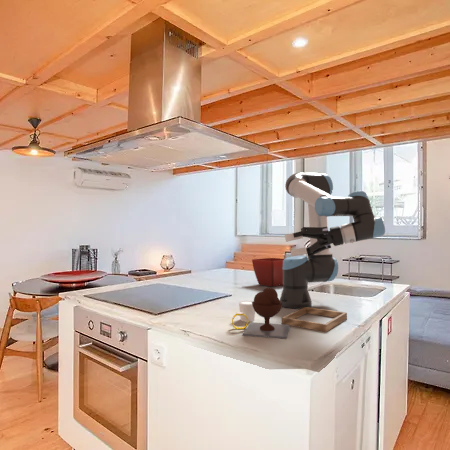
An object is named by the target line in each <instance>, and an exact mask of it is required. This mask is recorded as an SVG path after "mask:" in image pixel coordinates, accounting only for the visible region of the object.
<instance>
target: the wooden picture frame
mask: <svg viewBox="0 0 450 450" xmlns="http://www.w3.org/2000/svg"><path fill="white" fill-rule="evenodd" d="M306 314H309V315H316V316H323V317H329V318H332V319H331V320H329V321H328V322H326V323H322V322H315V321H310V320H308V321H307V320H304V319H303V320H302V319H299V317H303V316H304V315H306ZM280 319H281V320H280V321H281V323H280V324H287V325H290V327H291V326H292V327H298V328H303V329H309V330H314V331H321V332H326V333H327V332H329V331H330V330H332V329H333V328H335V327H336V326H338V325H339V324H341V323H343V322H344V321H346V320H347V319H348V312H344V311H337V310H331V309H324V308H315V307H304V308H299V309H298V310H296V311H292V312H291V313H289V314H286V315H284V316H282V317H281V318H280Z"/></svg>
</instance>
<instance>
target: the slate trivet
mask: <svg viewBox="0 0 450 450" xmlns="http://www.w3.org/2000/svg"><path fill="white" fill-rule="evenodd" d="M264 324H265V322H254V321H251V322H250V323H248V325H247V327H246V328H245V329H244V331H243V333H242V335H241V336H244V337H245V336H246V337H247V336H248V337H257V338H258V337H259V338H270V339H271V338H272V339H273V338H274V339H286V340H287V337H288V333H289V330H290V327H291V325H287V324H282V323H271V322H270V324H271V325H272V326H274V328H275V329H274V330H273V331H263V330H260V326H262V325H264Z"/></svg>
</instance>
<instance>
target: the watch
mask: <svg viewBox="0 0 450 450" xmlns="http://www.w3.org/2000/svg"><path fill="white" fill-rule="evenodd" d="M242 315H243V316H245V317H246V319H247V322H246V324H245V325H244V326H243V327H241V326H239V327H237V326H236V325H235V324H234V319H235V317H237V316H239V317H240V316H242ZM231 324H232V326H233V328H234V329H235V330H246V328H247V327H248V325H249V322H248V318H247V316H246V315H245V314H244V313H243V312H240V311H237V312H235V314H234V315H233V317H232V319H231Z"/></svg>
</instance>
